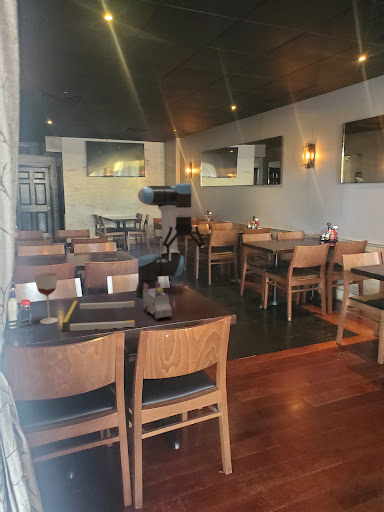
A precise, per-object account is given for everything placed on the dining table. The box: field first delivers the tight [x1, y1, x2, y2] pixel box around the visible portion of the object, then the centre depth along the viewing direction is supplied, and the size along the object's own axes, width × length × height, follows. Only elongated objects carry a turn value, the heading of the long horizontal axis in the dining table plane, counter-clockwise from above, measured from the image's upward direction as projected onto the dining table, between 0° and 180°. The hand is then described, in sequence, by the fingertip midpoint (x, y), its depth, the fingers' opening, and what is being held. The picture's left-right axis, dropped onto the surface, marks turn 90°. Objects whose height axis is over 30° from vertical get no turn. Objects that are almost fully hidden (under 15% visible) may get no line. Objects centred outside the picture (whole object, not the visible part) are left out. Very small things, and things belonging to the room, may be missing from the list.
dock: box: [62, 300, 136, 332], centre depth 182 cm, size 31×32×4 cm
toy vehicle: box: [142, 281, 173, 321], centre depth 185 cm, size 9×20×15 cm, turn 27°
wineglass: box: [34, 272, 59, 325], centre depth 176 cm, size 9×10×22 cm
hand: (183, 260), depth 184 cm, fingers open, 13 cm apart
